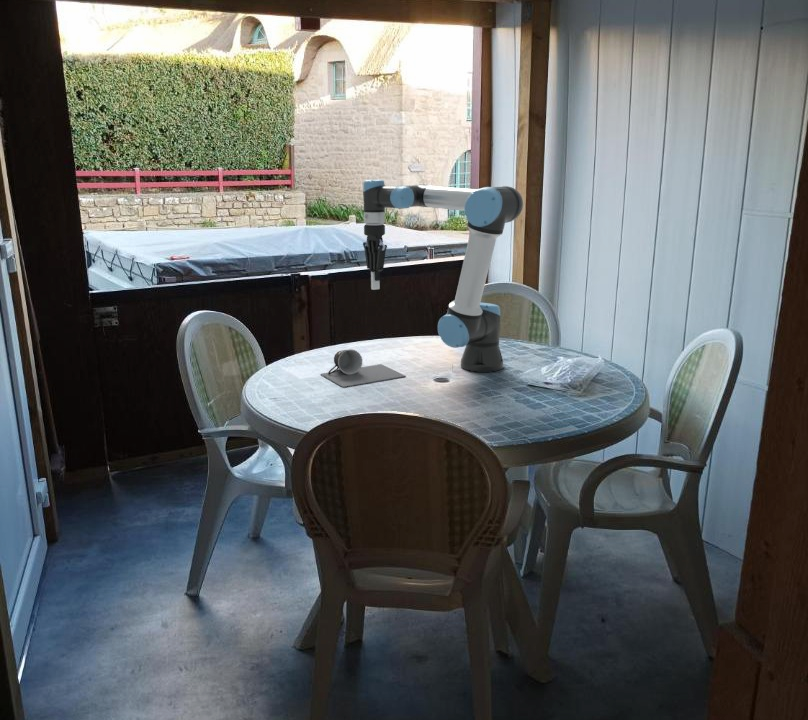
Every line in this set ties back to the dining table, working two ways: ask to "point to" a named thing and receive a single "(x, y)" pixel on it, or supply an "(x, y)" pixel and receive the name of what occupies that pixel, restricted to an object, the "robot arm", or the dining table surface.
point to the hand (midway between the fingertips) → (375, 289)
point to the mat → (363, 375)
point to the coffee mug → (347, 361)
